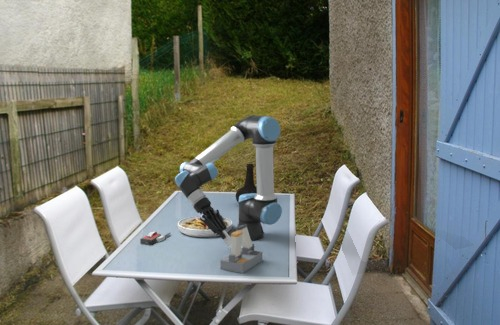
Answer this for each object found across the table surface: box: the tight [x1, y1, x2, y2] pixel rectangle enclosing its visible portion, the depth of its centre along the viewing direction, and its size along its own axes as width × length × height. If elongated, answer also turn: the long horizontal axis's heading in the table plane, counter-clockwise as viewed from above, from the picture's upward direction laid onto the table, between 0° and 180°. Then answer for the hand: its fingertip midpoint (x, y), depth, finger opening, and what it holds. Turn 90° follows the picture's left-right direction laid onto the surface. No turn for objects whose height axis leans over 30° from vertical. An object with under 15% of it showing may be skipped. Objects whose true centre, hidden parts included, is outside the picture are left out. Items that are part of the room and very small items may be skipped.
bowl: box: [177, 214, 233, 238], centre depth 292 cm, size 30×30×8 cm
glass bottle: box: [235, 163, 257, 203], centre depth 351 cm, size 18×18×28 cm
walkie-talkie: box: [139, 230, 171, 246], centre depth 274 cm, size 9×4×20 cm
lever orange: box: [229, 230, 243, 259], centre depth 232 cm, size 3×5×12 cm, turn 152°
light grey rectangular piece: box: [235, 224, 253, 251], centre depth 243 cm, size 3×5×12 cm, turn 153°
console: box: [220, 243, 263, 274], centre depth 238 cm, size 11×19×7 cm, turn 152°
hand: (230, 243), depth 232 cm, fingers closed
